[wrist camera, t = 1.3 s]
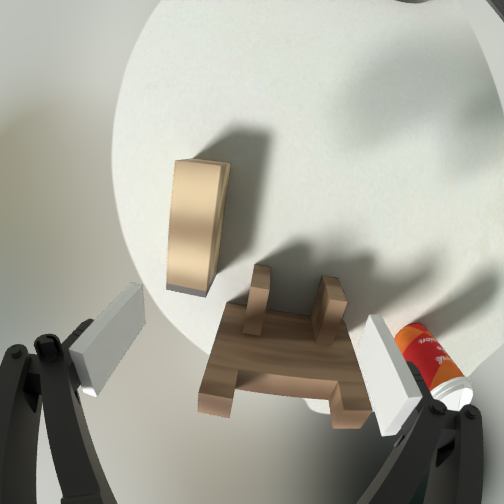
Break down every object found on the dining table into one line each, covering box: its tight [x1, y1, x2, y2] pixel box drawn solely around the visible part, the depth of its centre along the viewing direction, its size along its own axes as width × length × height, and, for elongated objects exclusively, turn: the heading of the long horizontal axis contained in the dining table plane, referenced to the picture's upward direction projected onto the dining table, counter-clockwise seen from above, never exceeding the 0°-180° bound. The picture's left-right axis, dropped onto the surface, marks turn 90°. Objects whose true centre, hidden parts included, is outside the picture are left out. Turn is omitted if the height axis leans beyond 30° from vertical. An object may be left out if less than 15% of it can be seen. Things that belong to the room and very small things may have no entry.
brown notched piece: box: [198, 264, 373, 429], centre depth 29 cm, size 9×16×16 cm, turn 81°
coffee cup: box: [394, 323, 473, 411], centre depth 30 cm, size 8×8×15 cm
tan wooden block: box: [166, 159, 231, 298], centre depth 31 cm, size 14×4×6 cm, turn 171°
